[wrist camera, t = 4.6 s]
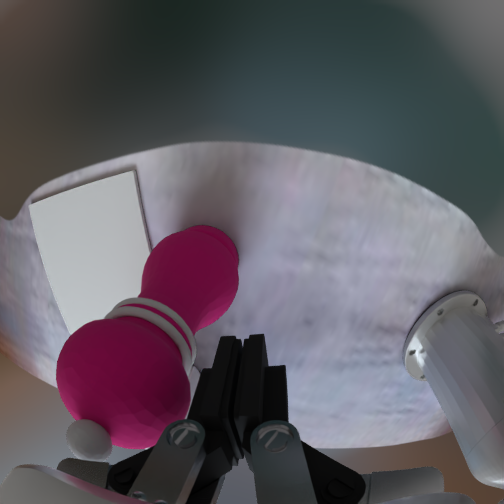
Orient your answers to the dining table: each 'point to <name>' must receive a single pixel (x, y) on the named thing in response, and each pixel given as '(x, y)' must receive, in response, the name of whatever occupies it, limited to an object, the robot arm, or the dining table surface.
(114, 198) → the mat
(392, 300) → the dining table surface
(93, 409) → the pepper mill
